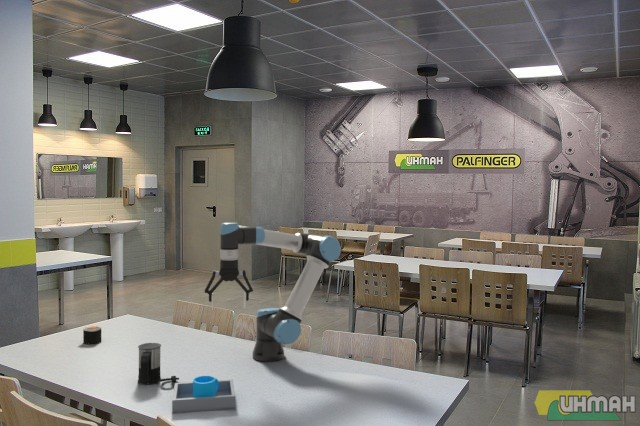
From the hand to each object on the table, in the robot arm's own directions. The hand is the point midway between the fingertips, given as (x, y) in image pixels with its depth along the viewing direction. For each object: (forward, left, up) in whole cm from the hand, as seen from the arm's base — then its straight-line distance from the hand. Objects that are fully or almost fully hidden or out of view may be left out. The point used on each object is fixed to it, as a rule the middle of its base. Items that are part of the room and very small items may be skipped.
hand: (228, 308), depth 221 cm
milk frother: (+28, +3, -29) cm, 41 cm away
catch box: (+10, +27, -29) cm, 41 cm away
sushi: (+66, -60, -29) cm, 94 cm away
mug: (+9, +27, -28) cm, 40 cm away
